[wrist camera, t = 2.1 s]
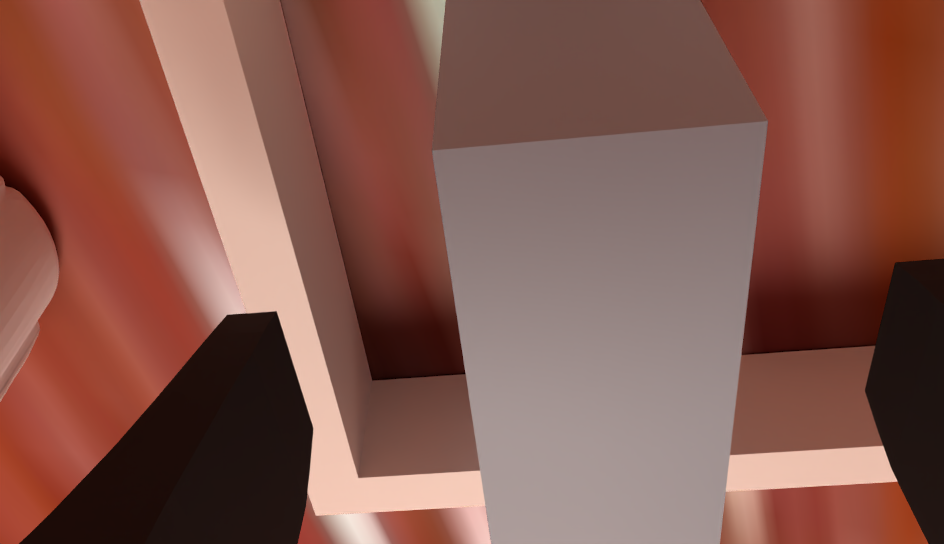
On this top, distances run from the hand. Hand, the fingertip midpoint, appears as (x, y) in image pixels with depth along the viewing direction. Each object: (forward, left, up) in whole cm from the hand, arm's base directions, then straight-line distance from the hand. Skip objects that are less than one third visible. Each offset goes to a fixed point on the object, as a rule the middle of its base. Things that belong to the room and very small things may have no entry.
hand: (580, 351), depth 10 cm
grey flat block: (0, 0, -5) cm, 5 cm away
